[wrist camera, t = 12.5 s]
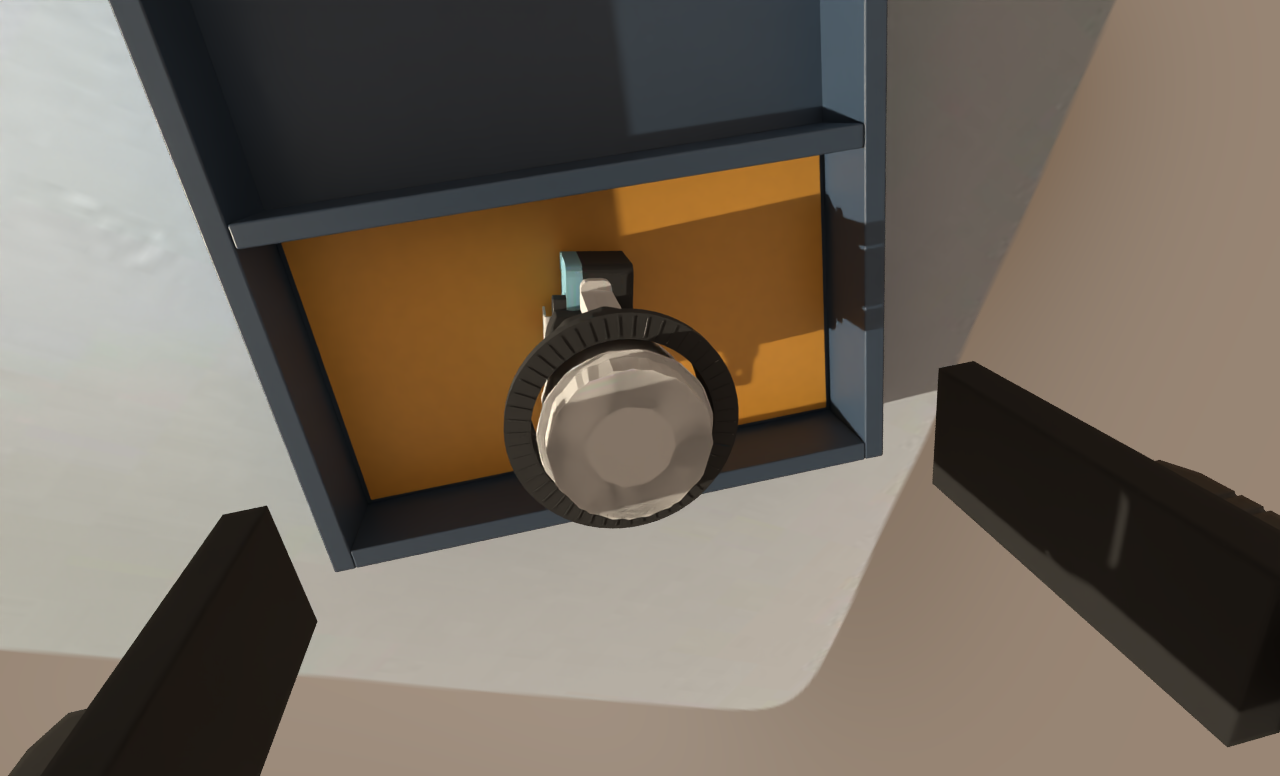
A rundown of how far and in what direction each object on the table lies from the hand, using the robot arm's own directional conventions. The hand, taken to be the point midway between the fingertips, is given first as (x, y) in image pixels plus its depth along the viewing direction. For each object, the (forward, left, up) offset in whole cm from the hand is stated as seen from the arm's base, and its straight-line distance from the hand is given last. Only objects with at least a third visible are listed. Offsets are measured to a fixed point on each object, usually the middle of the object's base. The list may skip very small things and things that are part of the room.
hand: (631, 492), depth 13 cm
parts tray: (0, +5, -12) cm, 13 cm away
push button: (0, 0, -11) cm, 11 cm away
